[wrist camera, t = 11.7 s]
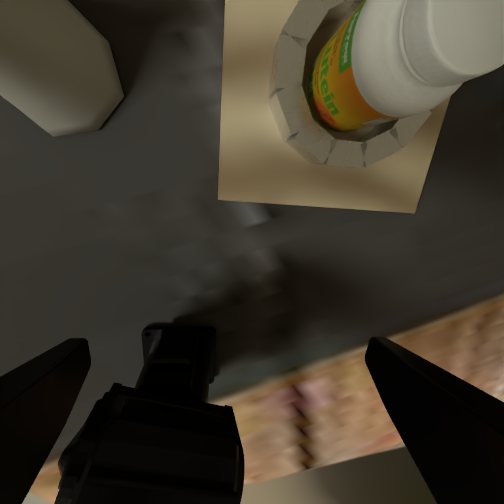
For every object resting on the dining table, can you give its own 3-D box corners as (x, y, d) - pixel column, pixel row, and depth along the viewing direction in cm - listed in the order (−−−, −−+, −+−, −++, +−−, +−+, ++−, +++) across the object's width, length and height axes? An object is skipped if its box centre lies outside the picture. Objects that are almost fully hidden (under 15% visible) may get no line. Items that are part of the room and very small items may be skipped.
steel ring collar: (391, 171, 19) (415, 173, 16) (262, 159, 17) (268, 159, 15) (434, 4, 15) (472, -25, 13) (279, -26, 14) (290, -65, 12)
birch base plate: (406, 211, 21) (414, 213, 20) (218, 197, 19) (217, 199, 18) (479, -38, 16) (495, -51, 15) (228, -95, 13) (229, -114, 13)
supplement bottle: (297, 50, 15) (404, -115, 6) (379, 29, 15) (603, -165, 6) (310, 142, 17) (407, 118, 8) (383, 122, 17) (559, 77, 8)
